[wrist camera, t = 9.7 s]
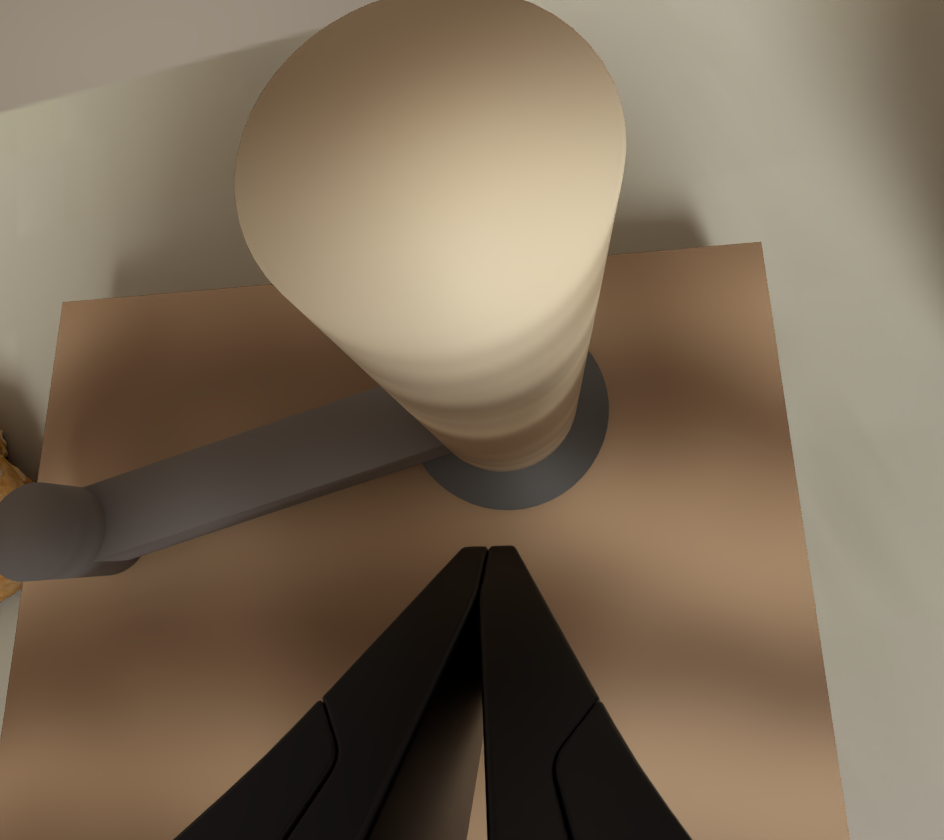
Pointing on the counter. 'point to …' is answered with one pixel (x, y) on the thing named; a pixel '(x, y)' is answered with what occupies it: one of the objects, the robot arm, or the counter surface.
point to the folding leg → (392, 271)
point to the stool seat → (432, 561)
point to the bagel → (3, 480)
